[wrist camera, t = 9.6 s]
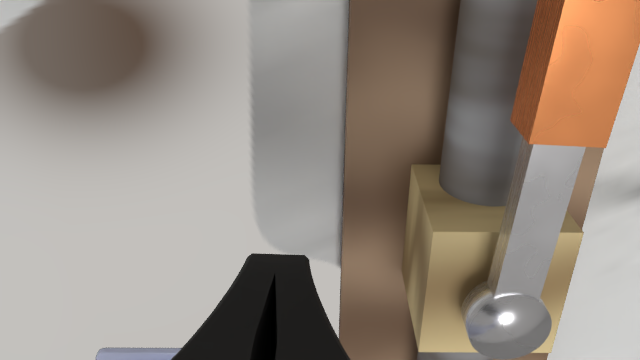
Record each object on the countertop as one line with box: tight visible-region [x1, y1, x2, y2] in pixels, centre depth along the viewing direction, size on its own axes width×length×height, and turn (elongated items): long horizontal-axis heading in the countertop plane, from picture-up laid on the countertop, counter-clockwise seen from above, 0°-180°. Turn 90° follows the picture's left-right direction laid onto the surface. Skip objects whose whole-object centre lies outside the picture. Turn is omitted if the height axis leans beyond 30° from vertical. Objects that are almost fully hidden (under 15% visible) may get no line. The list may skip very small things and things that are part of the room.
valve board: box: [339, 0, 604, 360], centre depth 22 cm, size 24×10×6 cm, turn 0°
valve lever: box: [461, 0, 640, 360], centre depth 16 cm, size 13×3×2 cm, turn 177°
